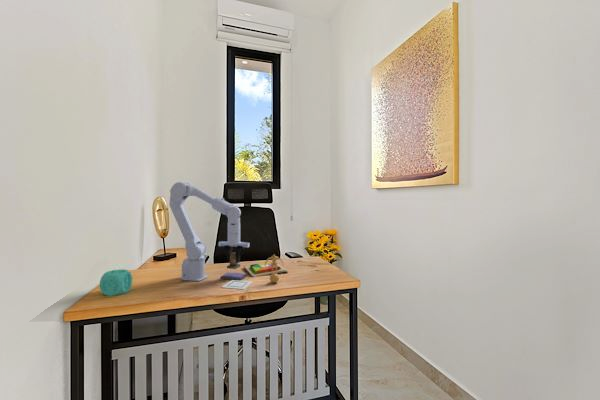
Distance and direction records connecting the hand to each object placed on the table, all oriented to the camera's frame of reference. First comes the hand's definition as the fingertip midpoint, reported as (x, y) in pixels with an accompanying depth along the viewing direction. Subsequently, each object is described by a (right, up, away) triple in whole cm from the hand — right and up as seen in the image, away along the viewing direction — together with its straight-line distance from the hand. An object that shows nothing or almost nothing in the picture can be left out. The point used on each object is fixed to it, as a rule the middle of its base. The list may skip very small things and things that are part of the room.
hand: (234, 262), depth 129 cm
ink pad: (0, -7, 0) cm, 7 cm away
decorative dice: (-41, -8, -20) cm, 46 cm away
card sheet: (+4, -7, -10) cm, 13 cm away
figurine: (+19, -8, -6) cm, 21 cm away
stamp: (0, -2, 0) cm, 2 cm away
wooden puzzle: (+13, -8, +13) cm, 20 cm away
